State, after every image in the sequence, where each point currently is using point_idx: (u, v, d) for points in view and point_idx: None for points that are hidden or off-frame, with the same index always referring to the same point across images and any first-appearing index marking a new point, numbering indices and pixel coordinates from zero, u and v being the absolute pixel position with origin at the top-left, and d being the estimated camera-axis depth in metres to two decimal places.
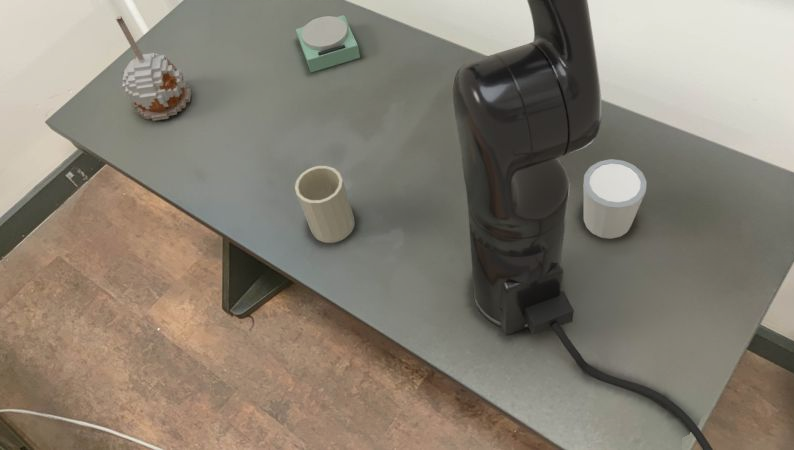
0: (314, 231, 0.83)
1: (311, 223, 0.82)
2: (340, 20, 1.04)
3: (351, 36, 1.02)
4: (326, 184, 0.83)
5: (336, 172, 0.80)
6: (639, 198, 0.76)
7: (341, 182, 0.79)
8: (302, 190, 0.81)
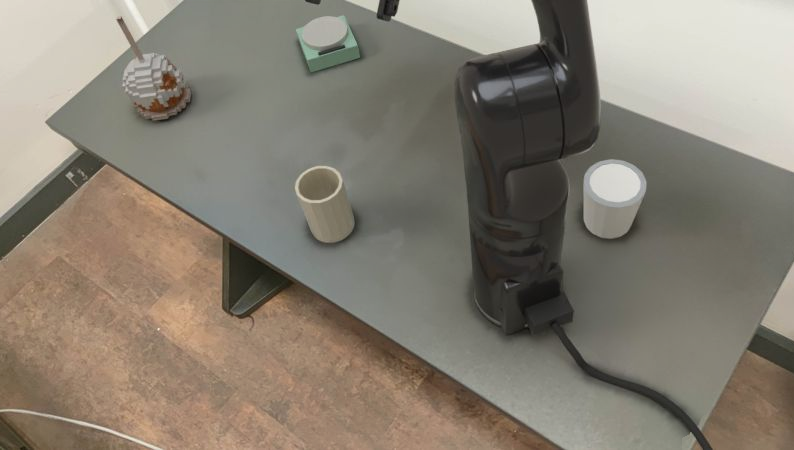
0: (314, 231, 0.83)
1: (311, 223, 0.82)
2: (340, 20, 1.04)
3: (351, 36, 1.02)
4: (326, 184, 0.83)
5: (336, 172, 0.80)
6: (639, 198, 0.76)
7: (341, 182, 0.79)
8: (302, 190, 0.81)
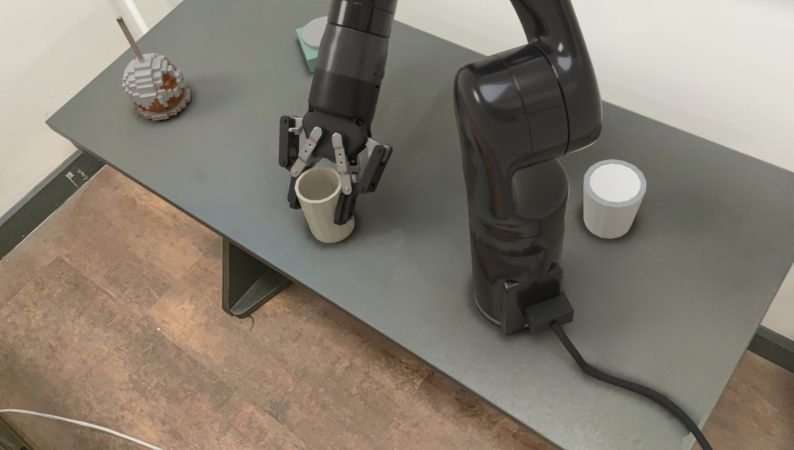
0: (314, 231, 0.83)
1: (311, 223, 0.82)
2: None
3: None
4: (326, 184, 0.83)
5: (336, 172, 0.80)
6: (639, 198, 0.76)
7: None
8: (301, 190, 0.81)
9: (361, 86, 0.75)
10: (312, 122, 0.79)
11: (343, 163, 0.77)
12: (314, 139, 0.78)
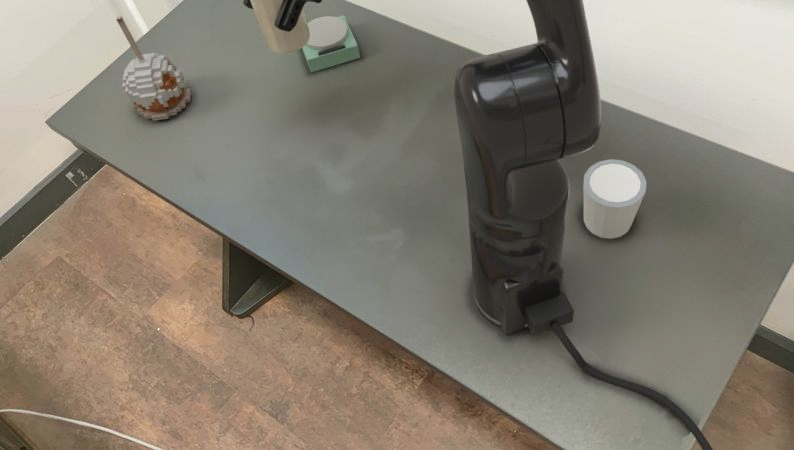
0: (263, 36, 0.83)
1: (259, 25, 0.81)
2: (340, 20, 1.04)
3: (351, 36, 1.02)
4: None
5: None
6: (639, 198, 0.76)
7: None
8: None
9: None
10: None
11: None
12: None
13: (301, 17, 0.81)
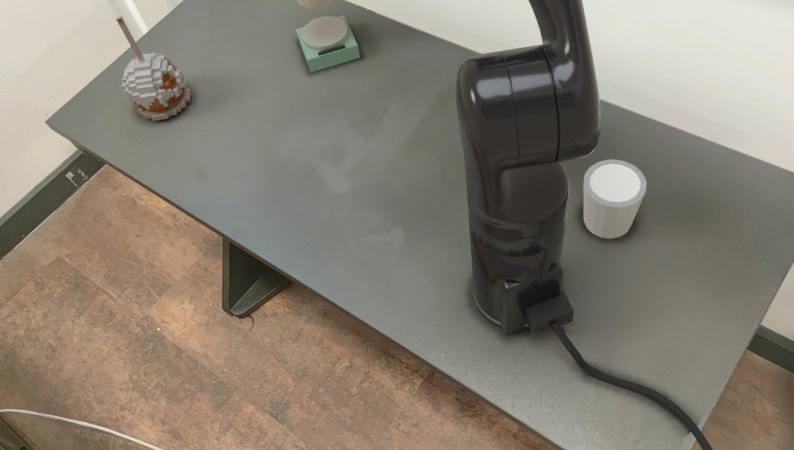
0: None
1: None
2: (340, 20, 1.04)
3: (351, 36, 1.02)
4: None
5: None
6: (639, 198, 0.76)
7: None
8: None
9: None
10: None
11: None
12: None
13: None
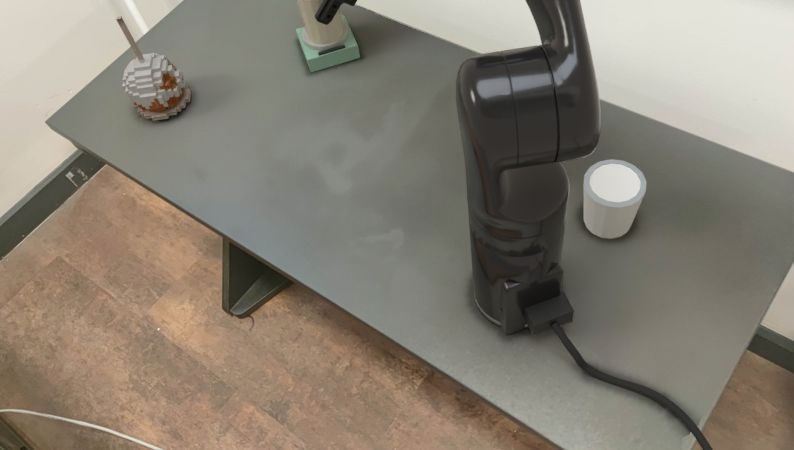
0: (304, 26, 1.01)
1: (301, 17, 0.99)
2: None
3: (351, 36, 1.02)
4: None
5: None
6: (639, 198, 0.76)
7: None
8: None
9: None
10: None
11: None
12: None
13: (335, 17, 0.98)
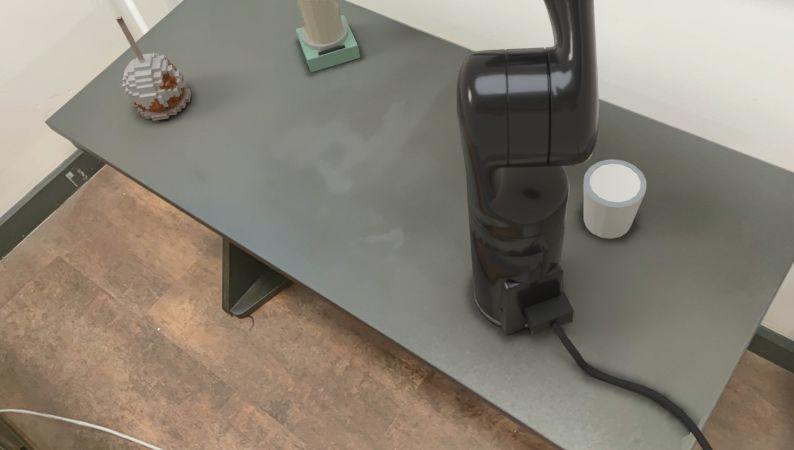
0: (304, 26, 1.01)
1: (301, 17, 0.99)
2: None
3: (351, 36, 1.02)
4: None
5: None
6: (639, 198, 0.76)
7: None
8: None
9: None
10: None
11: None
12: None
13: (335, 17, 0.98)
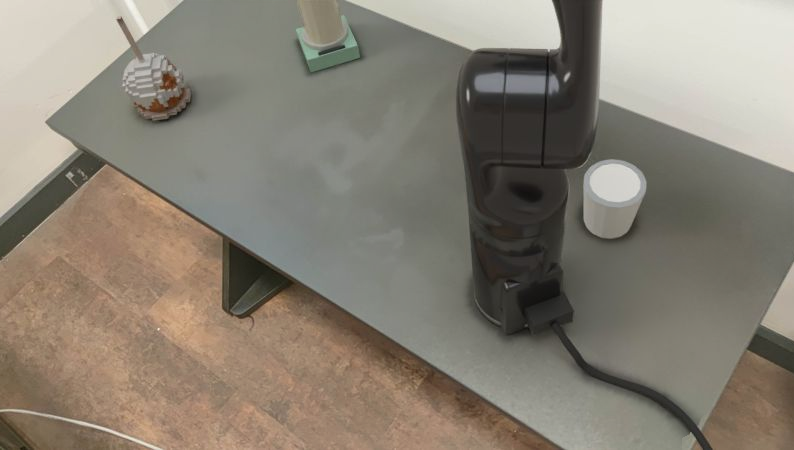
0: (304, 26, 1.01)
1: (301, 17, 0.99)
2: None
3: (351, 36, 1.02)
4: None
5: None
6: (639, 198, 0.76)
7: None
8: None
9: None
10: None
11: None
12: None
13: (335, 17, 0.98)
